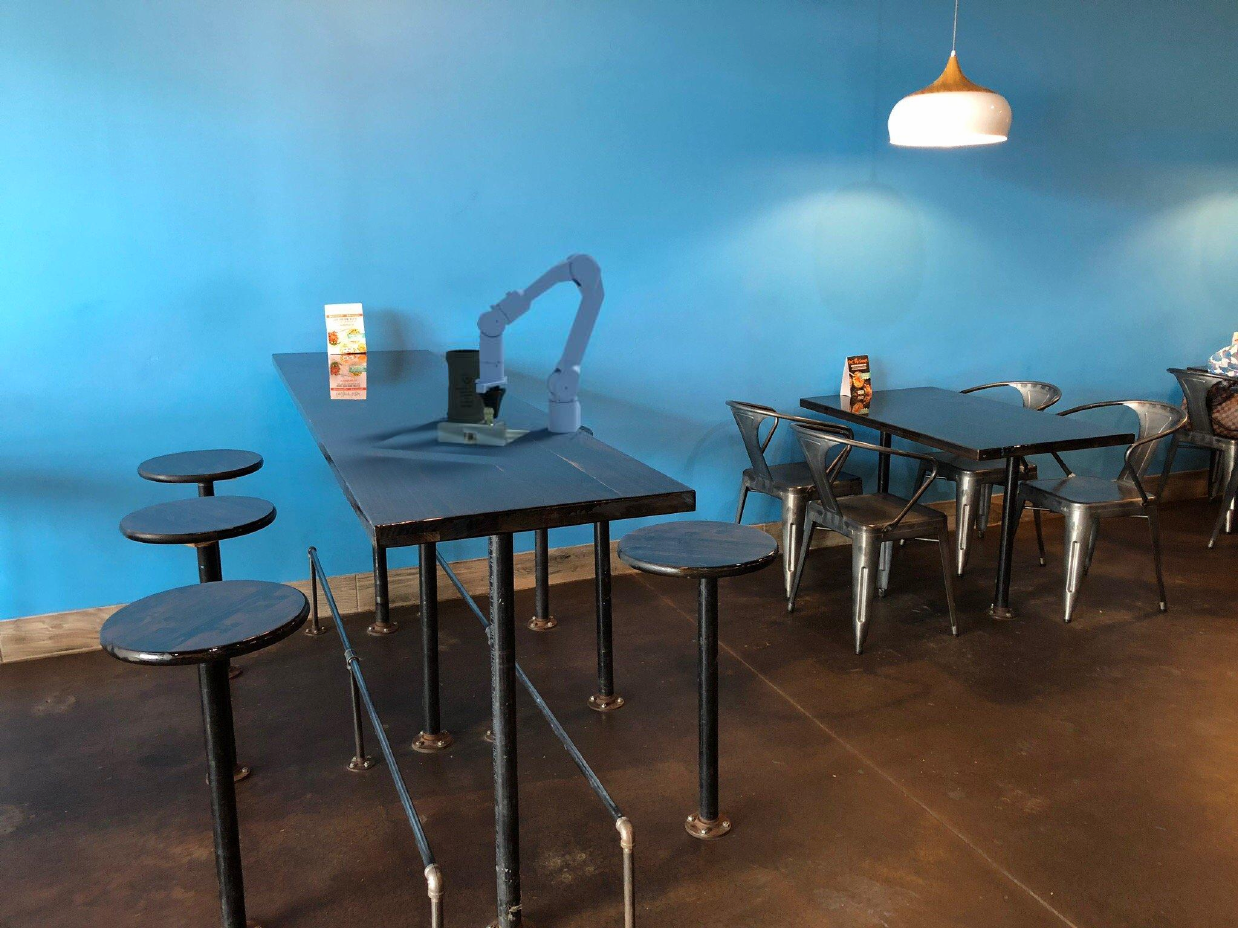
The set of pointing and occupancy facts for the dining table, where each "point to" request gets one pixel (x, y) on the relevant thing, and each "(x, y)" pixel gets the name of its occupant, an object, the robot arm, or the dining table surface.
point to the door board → (484, 433)
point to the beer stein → (464, 387)
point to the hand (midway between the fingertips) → (492, 418)
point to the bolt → (487, 418)
